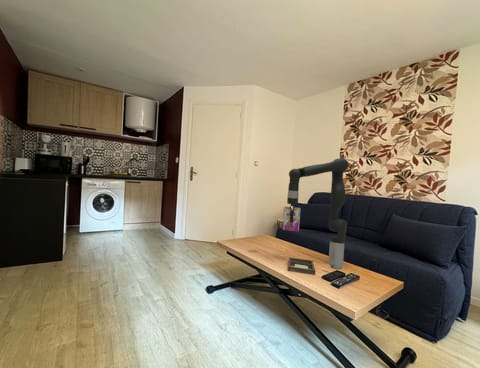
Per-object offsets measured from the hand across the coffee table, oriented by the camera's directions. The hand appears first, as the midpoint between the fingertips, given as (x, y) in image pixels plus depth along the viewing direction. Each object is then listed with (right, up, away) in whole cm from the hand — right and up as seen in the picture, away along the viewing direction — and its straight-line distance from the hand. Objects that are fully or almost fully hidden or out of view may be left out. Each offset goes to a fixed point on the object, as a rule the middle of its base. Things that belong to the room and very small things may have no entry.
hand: (291, 221), depth 160 cm
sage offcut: (+3, -28, -15) cm, 32 cm away
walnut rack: (+4, -30, -11) cm, 32 cm away
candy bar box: (-1, -7, 0) cm, 7 cm away
